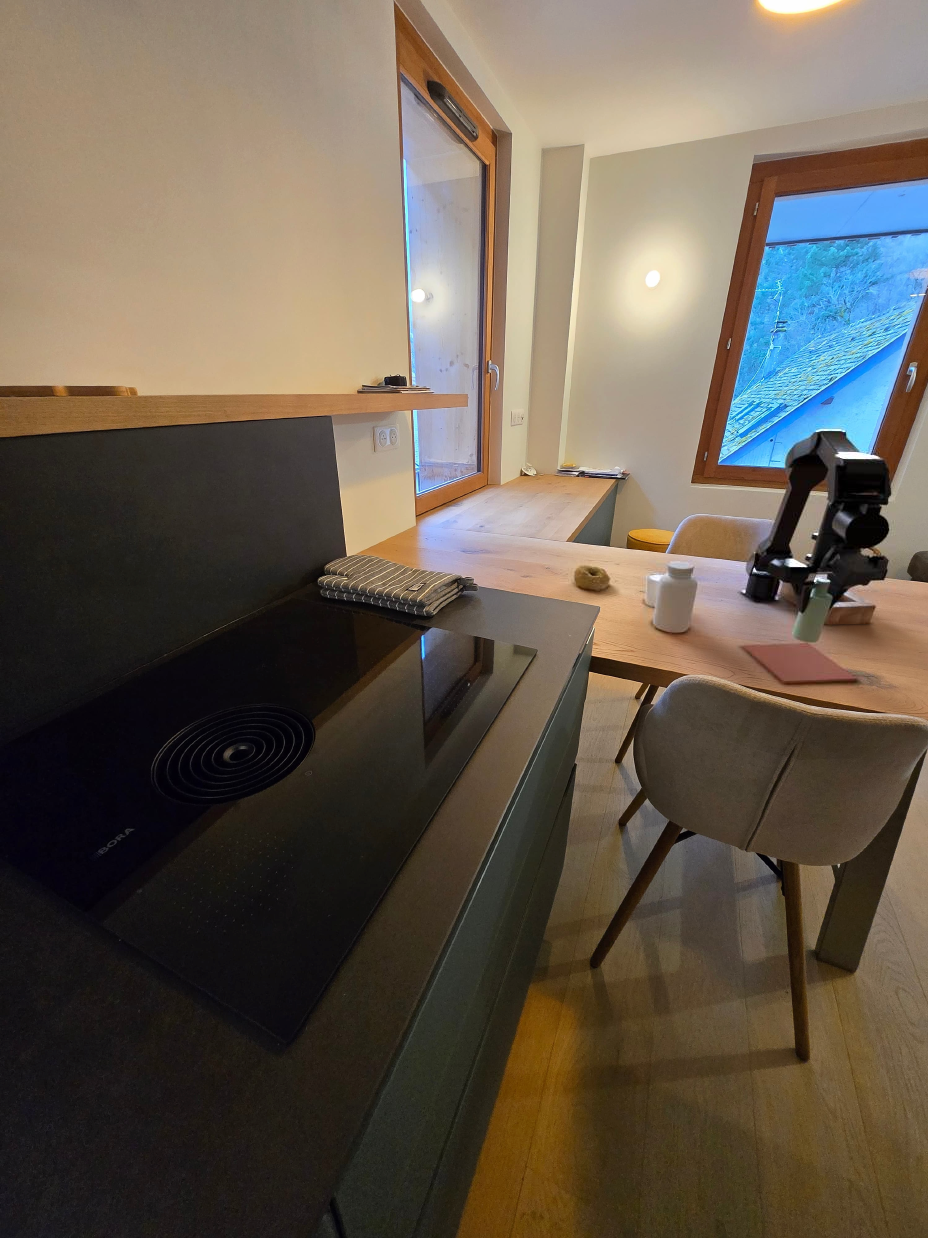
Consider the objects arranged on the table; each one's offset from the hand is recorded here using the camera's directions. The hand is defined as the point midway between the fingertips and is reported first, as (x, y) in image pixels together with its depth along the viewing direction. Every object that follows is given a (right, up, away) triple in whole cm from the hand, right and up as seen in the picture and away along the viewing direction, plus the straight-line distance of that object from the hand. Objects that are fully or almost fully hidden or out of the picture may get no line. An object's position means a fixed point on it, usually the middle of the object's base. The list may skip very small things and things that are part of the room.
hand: (812, 611), depth 94 cm
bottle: (0, -5, +2) cm, 6 cm away
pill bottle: (-19, -3, +21) cm, 28 cm away
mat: (0, -10, +5) cm, 11 cm away
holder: (+22, +1, +28) cm, 36 cm away
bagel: (-31, +8, +45) cm, 55 cm away
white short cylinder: (-17, +3, +32) cm, 37 cm away
